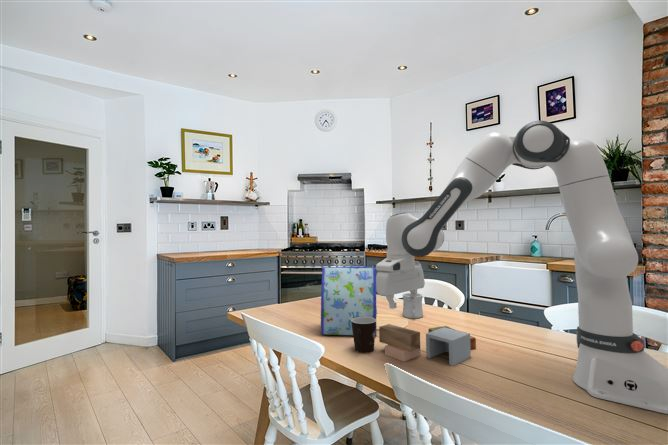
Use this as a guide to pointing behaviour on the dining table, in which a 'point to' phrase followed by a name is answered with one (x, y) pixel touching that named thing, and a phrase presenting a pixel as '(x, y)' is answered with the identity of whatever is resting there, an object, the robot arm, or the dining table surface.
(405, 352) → the stand
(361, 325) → the coffee mug
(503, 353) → the dining table surface
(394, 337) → the block
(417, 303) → the mug
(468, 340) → the grey tunnel block
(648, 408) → the robot arm
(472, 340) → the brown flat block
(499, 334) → the dining table surface
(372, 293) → the lunch bag
